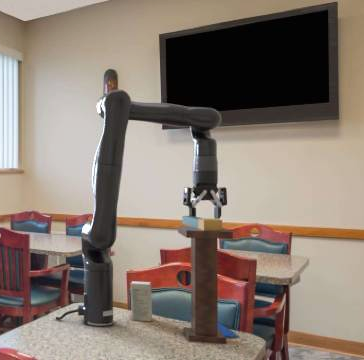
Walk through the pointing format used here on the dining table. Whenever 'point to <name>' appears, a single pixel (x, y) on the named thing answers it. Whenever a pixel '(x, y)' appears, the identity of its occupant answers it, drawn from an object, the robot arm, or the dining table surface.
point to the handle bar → (203, 223)
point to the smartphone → (226, 331)
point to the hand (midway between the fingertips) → (205, 218)
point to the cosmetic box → (141, 301)
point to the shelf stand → (204, 283)
